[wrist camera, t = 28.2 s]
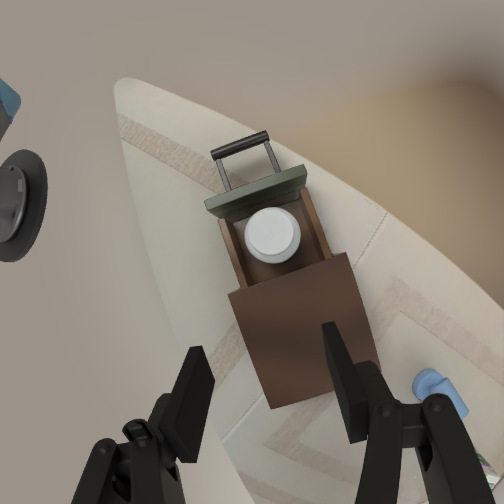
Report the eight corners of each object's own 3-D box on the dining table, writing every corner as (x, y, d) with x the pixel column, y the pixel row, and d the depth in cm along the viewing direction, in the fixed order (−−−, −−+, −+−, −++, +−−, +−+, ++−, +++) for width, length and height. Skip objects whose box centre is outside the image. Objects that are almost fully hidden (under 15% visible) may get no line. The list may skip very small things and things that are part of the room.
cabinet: (239, 288, 37) (227, 294, 30) (334, 254, 36) (345, 251, 28) (274, 383, 36) (270, 409, 28) (365, 352, 35) (381, 372, 27)
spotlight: (444, 393, 33) (435, 358, 33) (475, 421, 23) (470, 381, 23) (416, 410, 33) (406, 375, 34) (444, 443, 23) (436, 404, 24)
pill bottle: (304, 226, 34) (310, 212, 25) (289, 269, 34) (290, 271, 25) (261, 212, 35) (251, 192, 25) (246, 254, 35) (230, 251, 25)
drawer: (202, 167, 37) (188, 152, 32) (283, 137, 36) (282, 116, 30) (249, 304, 36) (241, 312, 30) (337, 273, 35) (346, 275, 29)
